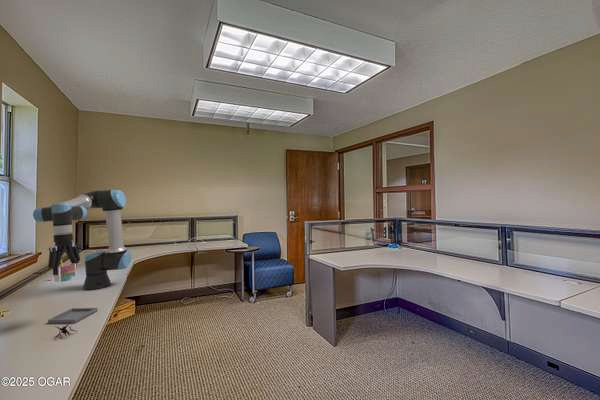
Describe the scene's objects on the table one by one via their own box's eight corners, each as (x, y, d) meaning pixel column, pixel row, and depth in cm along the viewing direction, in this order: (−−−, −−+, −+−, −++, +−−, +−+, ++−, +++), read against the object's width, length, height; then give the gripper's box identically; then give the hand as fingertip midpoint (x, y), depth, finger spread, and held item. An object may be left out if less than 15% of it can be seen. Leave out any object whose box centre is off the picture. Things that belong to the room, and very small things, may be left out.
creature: (79, 337, 128) (73, 328, 133) (79, 326, 127) (73, 317, 132) (56, 344, 122) (51, 335, 127) (56, 333, 121) (51, 324, 126)
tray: (72, 311, 155) (72, 308, 155) (97, 311, 154) (97, 307, 154) (48, 323, 141) (47, 319, 141) (75, 323, 140) (75, 319, 140)
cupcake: (50, 283, 142) (49, 259, 141) (60, 278, 150) (59, 255, 150) (71, 281, 144) (69, 257, 143) (79, 276, 152) (78, 254, 152)
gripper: (74, 231, 157) (77, 272, 158) (35, 237, 136) (38, 285, 137) (87, 230, 156) (89, 272, 157) (50, 236, 135) (53, 285, 136)
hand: (65, 278), depth 147 cm, fingers closed on cupcake, 8 cm apart
